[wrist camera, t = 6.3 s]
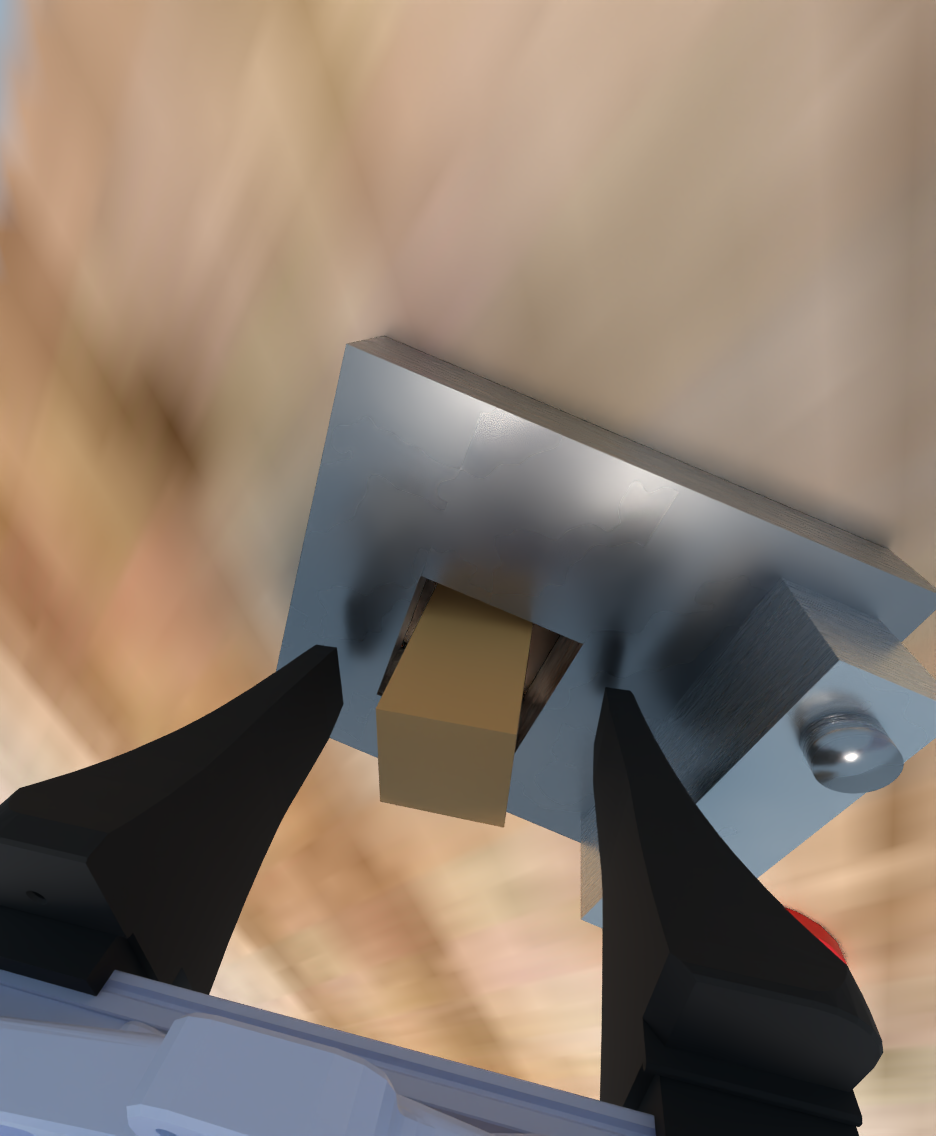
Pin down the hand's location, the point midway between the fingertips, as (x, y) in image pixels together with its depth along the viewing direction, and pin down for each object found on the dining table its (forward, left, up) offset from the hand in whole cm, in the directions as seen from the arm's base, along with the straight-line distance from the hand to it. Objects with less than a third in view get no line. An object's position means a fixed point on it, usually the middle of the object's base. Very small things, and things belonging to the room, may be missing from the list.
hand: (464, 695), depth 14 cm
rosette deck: (-2, -1, -3) cm, 4 cm away
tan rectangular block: (0, 0, -3) cm, 3 cm away
